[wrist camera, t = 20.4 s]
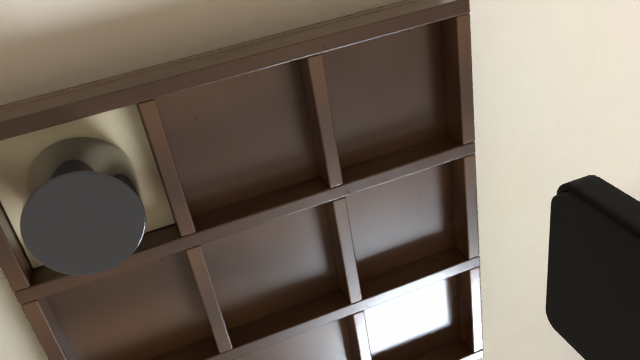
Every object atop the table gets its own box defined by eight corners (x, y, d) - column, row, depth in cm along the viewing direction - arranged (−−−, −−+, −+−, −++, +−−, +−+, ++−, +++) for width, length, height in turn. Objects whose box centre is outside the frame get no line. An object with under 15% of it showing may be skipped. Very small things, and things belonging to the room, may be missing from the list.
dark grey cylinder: (8, 154, 24) (-1, 193, 21) (119, 123, 25) (126, 156, 22) (49, 244, 26) (46, 291, 23) (150, 212, 27) (160, 254, 24)
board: (-56, 120, 24) (-67, 140, 22) (445, -10, 29) (469, -3, 27) (122, 476, 34) (125, 508, 33) (465, 335, 39) (483, 357, 38)
